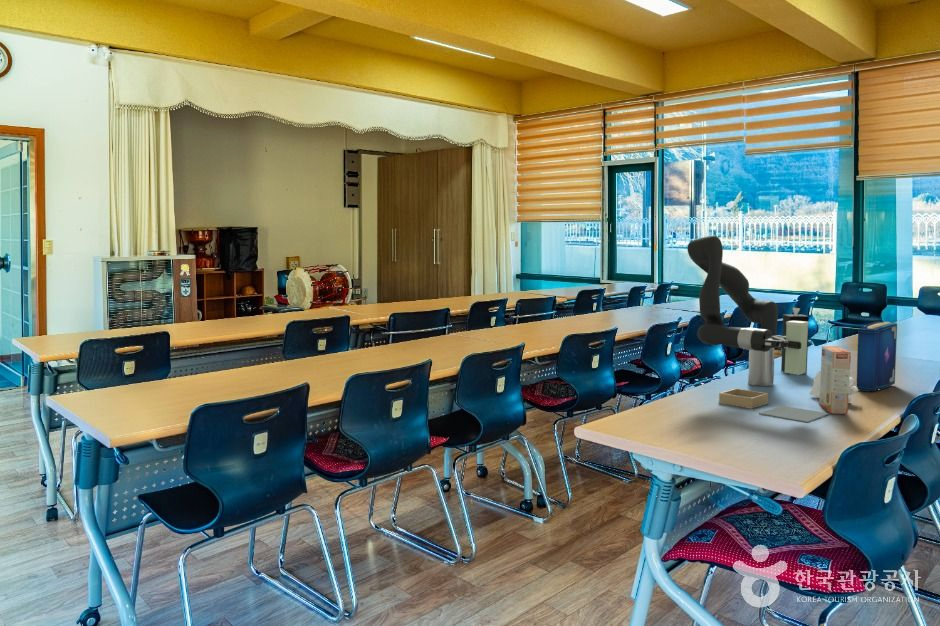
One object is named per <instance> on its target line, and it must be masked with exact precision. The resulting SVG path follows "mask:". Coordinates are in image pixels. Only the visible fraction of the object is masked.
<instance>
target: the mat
mask: <svg viewBox="0 0 940 626" xmlns="http://www.w3.org/2000/svg"><path fill="white" fill-rule="evenodd" d="M758 413H759V415H760V414H761V415H762V416H766V415H767V417H771V416H773V417H772V418H777V417H778V419H784V420H788V419H789V420H790V421H795V422H800V423H805V424H808V423H811V421H812V422H814V421H816V419H817V420H819V419H822V418H824V417H823V416H825V415H827V416H829V415H830V413H829V412H823V411H817V410H811V409H804V408H799V407H793V406H786V405H780V406H777V407H776V406H775V407H774V408H771V409H768V410H765V411H761V412H758ZM828 414H829V415H828ZM821 417H822V418H821ZM825 417H826V416H825ZM818 418H819V419H818Z"/></svg>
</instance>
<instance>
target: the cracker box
mask: <svg viewBox="0 0 940 626" xmlns="http://www.w3.org/2000/svg"><path fill="white" fill-rule="evenodd" d="M851 355H852V352H850V351H848V350H847V349H844V348H842V347H840V346H838V345H822V346H821V359H820V360H821V361H820V371H821V379H820V398H818V401H819V402H818V403H819V406H820V405H821V406H820V407H821V408H823V409H824V410H825V411H826V410H827V413H829V414H830V413H832V414H833V415H848V413H849V403H848V398H849V397H850V396H849V379H850V377H851V376H850V375H851V373H850V372H851V361H852V360H851V359H852V357H851Z"/></svg>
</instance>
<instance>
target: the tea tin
mask: <svg viewBox="0 0 940 626" xmlns="http://www.w3.org/2000/svg"><path fill="white" fill-rule="evenodd" d="M809 322H810V321H809ZM809 322H805V321H794V320H793V321H788V322H786V325H787V329H786V340H788V341H795V342H801V343H802V344H801V349H794V348H788V349H786V351H785V373H784V374H787V373H791V374H790V375H798V376H799V375H804V374H803V373H806V357H807V358H808V352H807V335H808V336H809V325H808V324H809Z"/></svg>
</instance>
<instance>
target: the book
mask: <svg viewBox="0 0 940 626" xmlns="http://www.w3.org/2000/svg"><path fill="white" fill-rule="evenodd" d="M897 333H898V323H897V322H895V321H894V322H890V321H886V322H884V321H883V322H882V321H880V320H879V321H873V322H870V323H867V324H865V325H864V326H861V327H859V328H858V329H857V359H856V363H857V364H856V368H857V369H856V387H857V388H858V391H861V390H862V392H869V391H872V392H874V391H879V390H878V389H882V390H884V389H887V388H890V386H892V385H895V384H896V366H897V365H896V364H897V362H896V361H897V337H898V334H897ZM886 387H887V388H886ZM883 388H884V389H883Z"/></svg>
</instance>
